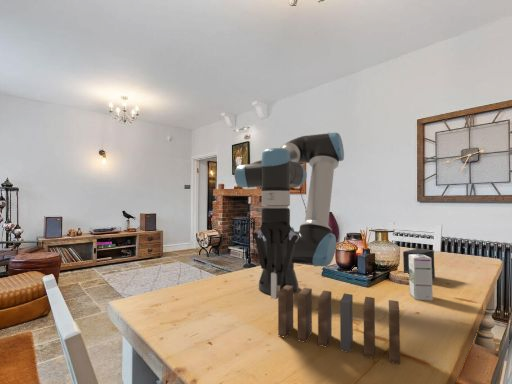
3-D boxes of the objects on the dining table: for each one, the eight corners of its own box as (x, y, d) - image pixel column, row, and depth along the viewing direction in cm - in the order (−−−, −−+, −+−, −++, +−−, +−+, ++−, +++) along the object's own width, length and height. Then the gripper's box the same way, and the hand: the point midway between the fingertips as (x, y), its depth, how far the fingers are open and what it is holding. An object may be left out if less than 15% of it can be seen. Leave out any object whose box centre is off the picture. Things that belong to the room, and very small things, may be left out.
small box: (418, 274, 126) (418, 248, 126) (435, 277, 120) (434, 250, 120) (403, 278, 119) (402, 250, 119) (419, 282, 113) (419, 253, 113)
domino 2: (297, 340, 66) (297, 294, 67) (304, 329, 72) (304, 287, 72) (305, 342, 66) (305, 296, 66) (311, 331, 71) (311, 288, 71)
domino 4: (340, 350, 62) (340, 301, 62) (344, 338, 68) (344, 293, 68) (349, 352, 61) (349, 302, 62) (352, 340, 67) (352, 294, 67)
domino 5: (363, 356, 60) (363, 305, 60) (365, 343, 65) (365, 296, 66) (373, 358, 59) (373, 306, 59) (375, 345, 64) (374, 297, 65)
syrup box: (433, 301, 92) (432, 257, 93) (414, 299, 94) (413, 257, 94) (426, 295, 98) (426, 254, 98) (408, 294, 99) (408, 253, 100)
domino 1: (278, 336, 69) (278, 291, 69) (286, 326, 74) (286, 285, 74) (285, 337, 68) (285, 292, 68) (293, 327, 73) (293, 286, 73)
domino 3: (318, 345, 64) (317, 298, 65) (323, 334, 70) (323, 290, 70) (326, 347, 63) (326, 299, 64) (331, 335, 69) (331, 291, 69)
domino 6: (389, 362, 58) (388, 309, 58) (389, 348, 63) (388, 299, 63) (400, 364, 57) (399, 310, 57) (399, 350, 62) (398, 301, 63)
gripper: (247, 207, 72) (247, 297, 72) (294, 207, 67) (294, 306, 66) (259, 206, 79) (259, 289, 78) (303, 207, 73) (303, 296, 73)
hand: (275, 296), depth 72 cm, fingers closed
